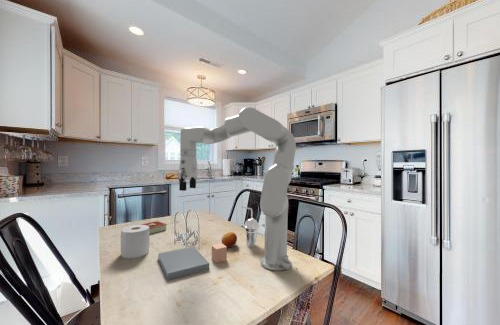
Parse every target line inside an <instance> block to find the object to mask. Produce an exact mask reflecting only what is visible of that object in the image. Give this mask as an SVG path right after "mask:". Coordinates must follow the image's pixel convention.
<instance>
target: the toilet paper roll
mask: <svg viewBox="0 0 500 325" xmlns="http://www.w3.org/2000/svg"><path fill="white" fill-rule="evenodd" d="M150 238H151V237H150V234H149V226H147V225H141V224H134V225H129V226H126V227H123V228H121V230H120V257H121V258H122V259H137V258H141V257H144V256H146V255H147V254H149V252H150Z"/></svg>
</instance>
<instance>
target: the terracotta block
mask: <svg viewBox="0 0 500 325" xmlns="http://www.w3.org/2000/svg"><path fill="white" fill-rule="evenodd" d="M227 249H228V247H226V246H225V245H224V244H222V242H221V243H217V244H212V245H211V259H212V261H213V262H214V263H216V264H218V263H222V262H226V261H227V259H228V250H227Z"/></svg>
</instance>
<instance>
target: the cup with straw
mask: <svg viewBox="0 0 500 325" xmlns="http://www.w3.org/2000/svg"><path fill="white" fill-rule="evenodd" d="M241 208H242V209H247V210H250V218H248V219H246V220H245V222H244V224H243V225H242V226H243V228H244V231H245V240H246V246H247V247H250V248H252V247H253V248H254V247H256V243H257V237H258V230H259V228H260V227H261V226H260V224H259V223H258V220H257V219H256V218H254V217H253V208H252V207H247V206H242V207H241Z"/></svg>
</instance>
